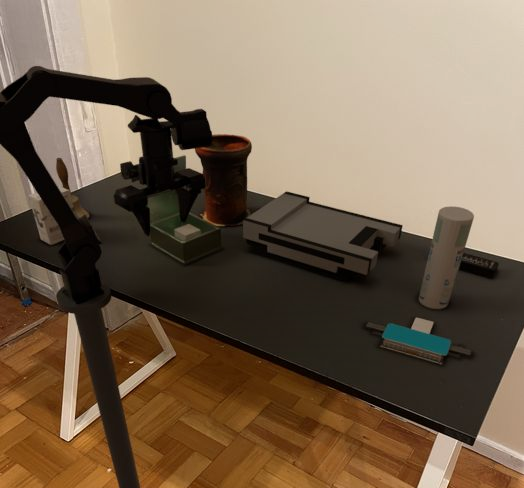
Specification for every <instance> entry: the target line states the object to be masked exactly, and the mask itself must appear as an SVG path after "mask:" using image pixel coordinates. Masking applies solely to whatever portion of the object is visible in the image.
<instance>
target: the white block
mask: <svg viewBox="0 0 524 488" xmlns="http://www.w3.org/2000/svg"><path fill="white" fill-rule="evenodd" d="M174 231H175V237H176V238H178V239H180V240H182V241H185V240H188V239H190V238H193V237H195V236H198V235H200V234H201V231H200V229H198V228H196V227H194V226H192V225H190V224H187V225H184V226H182V227H179V228H176V229H174Z"/></svg>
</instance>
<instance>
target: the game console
mask: <svg viewBox="0 0 524 488" xmlns="http://www.w3.org/2000/svg"><path fill="white" fill-rule="evenodd" d="M249 215H250V216H249V217H247V218H246V219H244V220H243V224H242V238H243V239H245V240H246V241H245V242H246V243H245V244H246V245H249V246H251V247H252V253H253V254H256V255H259V256H262V257H265V258H269V259H272V260H275V261H278V262H282V263H285V264H288V265H292V266H295V267H298V268H301V269H304V270H307V271H310V272H314V273H316V274H320V275H324V276H326V277H329V278H332V279H336V280H340V281H343V282H347V281H348V280H349V279H350V277H353V278H358V277H359V276H361V274H362V275H365V276H368V275H369V274H370V273H371V272H372V270H373V269H374V268H375V267H376V266H377V261H378V255H379V254H380V253H381V252H382V251H383V250H384V249H385V247H387V246H390V247H394V246H395V245H396V243H397V242H398V241H399V240H400V239H401V236H402V231H403V224H400V223H396V222H392V221H388V220H383V219H379V218H376V217H372V216H368V215H364V214H359V213H356V212H352V211H347V210H344V209H340V208H336V207H332V206H328V205H325V204H320V203H317V202H312V201H310V196H307V195H303V194H299V193H295V192H290V191H287V190H286V191H285V192H283V193H282V194H280V195H279V196H277V197H275V198H274V199H272V200H271V201H270V202H268V203H266V204H265V205H263V206H262V207H260V208H259V209H258V210H256V211H255V212H253V213H251V214H249Z"/></svg>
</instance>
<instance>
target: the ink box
mask: <svg viewBox="0 0 524 488" xmlns="http://www.w3.org/2000/svg"><path fill="white" fill-rule="evenodd" d="M57 186H58V188H59V189H60V191H61V193H62V194H63V196H64V198H65V199H66V201H67V202H68V204H69V206H70V207H71V209H72V211H73V212H74V213H75V211H74V206H73V202H72V198H71V194H72V192H71V193H70V191H71V189H70V190H68V189H65V188H63V186H61V185H57ZM28 199H29V202H30V207H31V209H32V210H31V211H32V213H33V217H34V221H35V224H36V228H37V231H38V234H39V239H40V240H41V241H43V242H45V243H46V244H48V245H50V246H53V245H56V244H58V243H60V242H62V241H65V240H64V238H63V235H62V233H61V230H60V228H59V225H58V224H57V222H56V221H55V219H54V218H53V216H52V215H51V213H50V211H49V210H48V208H47V207H46V205H45V204H44V202H43V201H42V199H41V198H40V196H39V194H38V193H37V192H35V193H31V194H29V195H28Z"/></svg>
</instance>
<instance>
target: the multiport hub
mask: <svg viewBox="0 0 524 488" xmlns="http://www.w3.org/2000/svg"><path fill="white" fill-rule="evenodd" d="M499 265H500V262H498V261H495V260H491V259H488V258H485V257H480V256H477V255H473V254H470V253H466V252H464V253H463V256H462V259H461V263H460V266H459V270H458V271H462V272H465V273H469V274H473V275H477V276H480V277H483V278H486V279H491V280H492V279H493V278H494V277H495V275H496V273H497V271H498V268H499Z"/></svg>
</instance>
